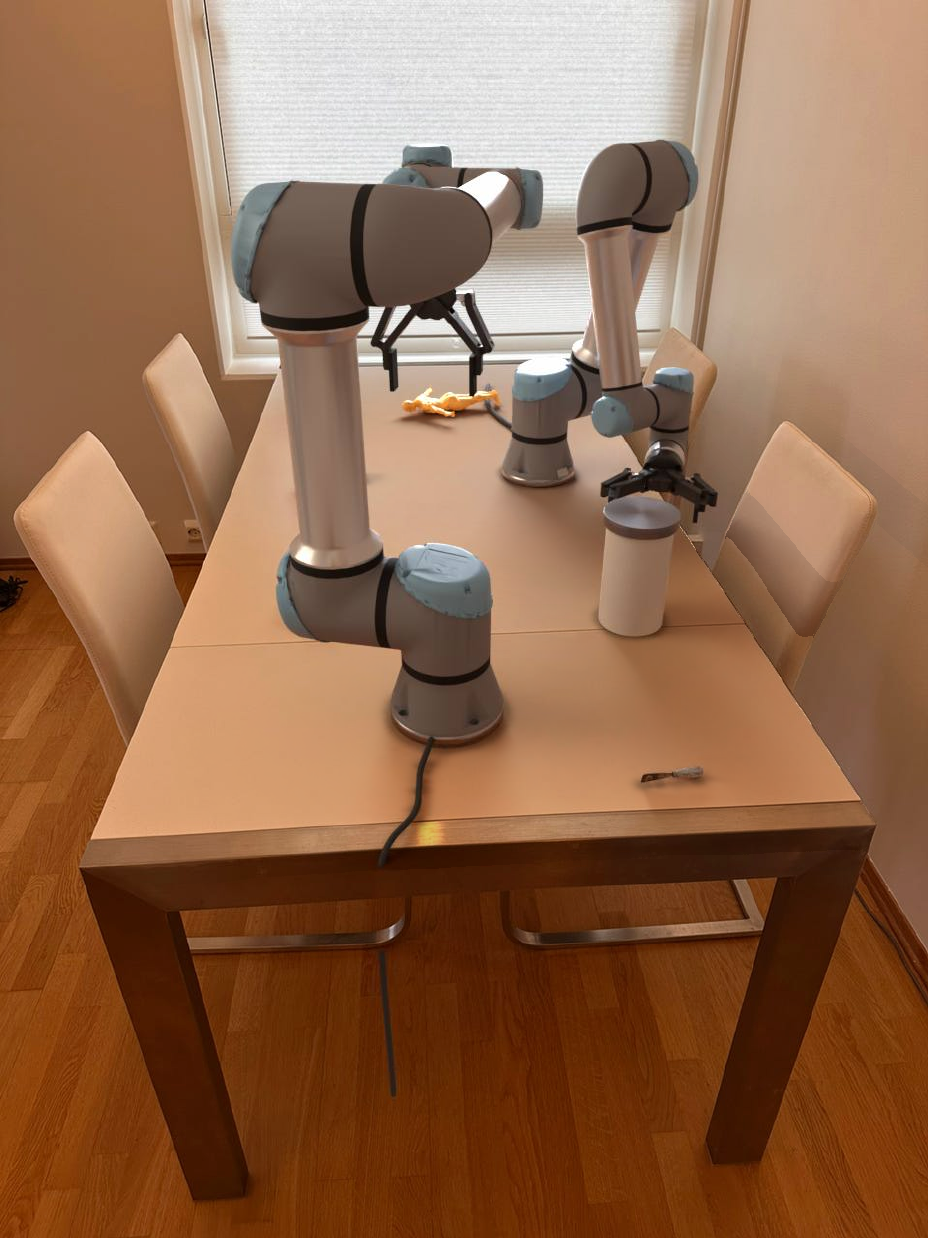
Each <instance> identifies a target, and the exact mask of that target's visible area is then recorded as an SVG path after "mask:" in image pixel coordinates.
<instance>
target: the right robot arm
mask: <svg viewBox="0 0 928 1238" xmlns="http://www.w3.org/2000/svg"><path fill="white" fill-rule="evenodd" d="M695 161H696V159H695V156H694V154H693V153H692V152H691V150H690V149H689V148H688V147H687V146H686V145H685V144H683V143H682V142H681V141H680V142H679V141H677V140H666V139H657V140H651V141H639V142H618V143H617V142H616V143H612V144H610V145H607V146H606V147H604V148H602V149H601V150H599V151H598V152H597V153H596V154H595V155H594V156H593V157H592V158H591V160H590V161H589V162H588V164H587V166H586V167H585V169H584V171H583V173H582V176H581V178H580V181H579V185H578V188H577V193H576V200H575V213H574V214H575V227H576V237H577V239H578V240H580V242H581V243H583V245H584V254H585V262H586V271H587V276H588V278H587V279H588V285H589V286H588V287H589V295H590V303H591V308H590V313H589V315H588V319H587V323H586V327H585V330H584V333H583V337H582V339H580V340H578V341H576V342H575V343H574V344H573V346H572V349H571V353H570V356H569V359H568V360H566V359H565V358H560V357H555V356H554V357H553V356H549V357H545V358H543V357H538V358H537V357H536V358H534V359H529V360H527V361H525V362H523V363H521V364H520V365H519V366H518V367H517V368H516V369H515V371H514V374H513V377H512V378H513V380H512V386H511V395H512V396H511V399H512V400H511V403H512V404H511V407H512V408H511V422H509V421H508V420H506V419H505V418H504V417H503V416H501V415H500V414H499V413H497V411H496V410H495V409H494V408H493V407H492V405H491V401H490V399H488V400H485V405H486V407H487V409H488V411H490V413H491V414H492V415H493V416H494V417H495V418H496V419H498V420H499V422H501V423H503V424H504V425H505V426H507V427H508V428H510V429H511V439H510V441H509V444H508V447H507V450H506V452H505V455H504V458H503V461H502V465H501V467H502V468H501V473H502V476H503V477H504V478H505V479H506V480H508V481H509V482H510V483H513V484H516V485H519V486H524V487H531V488H532V487H533V488H549V487H556V486H560V485H563V484H565V483H567V482H569V481H570V480H572V479H573V477H574V475H575V474H574V473H575V465H574V460H573V456H572V453H571V450H570V445H569V442H568V429H569V422H570V421H574V420H578V419H582V418H585V417H589V416H590V419H591V423H592V426H593V428H594V430H595V431H596V432H597V433H598V434H599V435H601V436H602V437H604V438H608V439H612V438H615V437H620V436H627V435H630V434H633V433H635V432H638V431H642V430H645V429H649V432H648V441H647V450H646V454H645V457H644V461H643V465H642V469H641V470H640V471H639V472H634V471H632V467H631V468H630V467H625V468H623V470H622V471H621V472H619V473H618V474H617V473H616V475H614V476H612V477H610V478H608V479H606V480H604V481H602V482H601V483H600V496H599V497H600V498H607V503H609V502H611V501H613V500H615V499H619V498H623V497H629V496H630V495H633V494H637V493H640V494H645V493H648V492H655V493H660V494H663V493H670V494H671V495H673V496H675V497H678V496H680V497H681V498H683V499H685V500H687V501H689V502H690V503H691V504H694V506H693V513H692V514H693V515H692V524H698V520H699V513H705V512H706V508H707V506H709V507H712V508H716V507H717V502H718V496H719V492H718V491H717V490H716V489H715V488H713V487H712V486H711V485H710V484H709V483H708V482H706V481H705V480H704V478H702V477H701V474H700V473H698V472H694V473H693V475H690V476H685V474H684V471H685V463H686V455H687V452H688V447H689V440H688V439H689V431H690V422H691V412H692V405H693V397H694V394H695V392H694V384H695V383H694V382H695V381H694V380H695V376H694V374H693V373H692V371H690V370H689V369H686V368H682V367H674V366H673V367H671V366H670V367H669V366H668V367H661V368H659V369H657V370H656V371H655V373H654V374H653V375H654V376H653V380H652V384H650V385H646V386H644V384H643V378H642V377H643V376H642V367H641V359H640V358H641V357H640V356H641V355H640V347H639V337H638V336H639V335H638V327H637V326H638V325H637V318H636V317H637V315H636V312H637V308H638V305H639V302H640V299H641V297H642V294H643V293H642V292H643V290H644V287H645V283H646V280H647V277H648V274H649V271H650V268H651V265H652V262H653V258H654V255H655V253H656V250H657V246H658V243H659V240H660V238H661V237H663V236H665V235H666V234H668V233H670V231H671V230H672V226H673V223H674V220H675V217H676V214H677V212H681V211H682V210H684V209H686V207H688V206H689V205H690V204H691V203H692V202H693V200H695V199H694V198H695V197H696V194H697V192H698V186H699V170H698V165H697V164H696V162H695ZM485 386H486V387H485V392H490V388H491V384H490V383H489V382H488V383H486V385H485Z"/></svg>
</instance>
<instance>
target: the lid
mask: <svg viewBox="0 0 928 1238" xmlns="http://www.w3.org/2000/svg"><path fill="white" fill-rule="evenodd" d="M681 518H682V514H681V511H680V509H678V507H676V506H675V505H673V504H672V503H670V502H668V501H665V500H662V499H659V498H654V497H650V496H625V497H622V498H619V499H615V500H613V501H611V502H609V503H608V502H607V503H606V504H605V506H604V507H603V511H602V524H603V526H604V528H605V529H606V528H607V529H608V530H609V531H611V532H613V533H615V534H617V535H620V536H623V537H626V538H631V539H638V540H656V539H662V538H666V537H669V536H671V535H673V534H674V535H675V534H677V532H679V530H680V527H681V526H680V525H681Z"/></svg>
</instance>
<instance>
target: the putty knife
mask: <svg viewBox="0 0 928 1238" xmlns="http://www.w3.org/2000/svg"><path fill="white" fill-rule="evenodd" d="M704 772H705V771H704V768H702V767H701V766H697V765H695V766H688V767H683V768H679V769H675V770H673V771H671V772H653V773H652V772H651V773H650V772H649V773H644V774H642V776H641V779H640V783H642V784H645V783H648V782H653V781H659V780H665V779H668V778H673V779H674V778H675V779H693V778H694V779H695V778H700V777H702V776H703V775H704Z"/></svg>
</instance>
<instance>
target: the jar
mask: <svg viewBox="0 0 928 1238" xmlns="http://www.w3.org/2000/svg"><path fill="white" fill-rule="evenodd" d="M604 537H605V539H604V550H603V559H602V560H603V561H602V570H601V571H602V572H601V581H600V582H601V583H600V594H599V604H598V605H599V606H598V618H597V619H598V622H599V623H600V625H601V626H602V627H604V629H605V630H607V631H609V632H611V633H612V634H613V633H614V634H617V635H619V636H624V637H631V638H632V637H634V638H635V637H645V636H646V637H647V636H649V635H652V634H654V633H656V632H657V631H659V630H660V629H661V628H662V625H663V619H664V612H665V603H666V598H667V597H666V596H667V589H668V582H669V575H670V567H671V559H672V553H673V546H674V545H673V544H674V538H675V534H673V535H671V536H669V537H666V538H662V539H656V540H638V539H631V538H626V537H623V536H620V535H617V534H615V533H613V532H611V531H609V530H608V529H607V528H606V527H605V536H604Z"/></svg>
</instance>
